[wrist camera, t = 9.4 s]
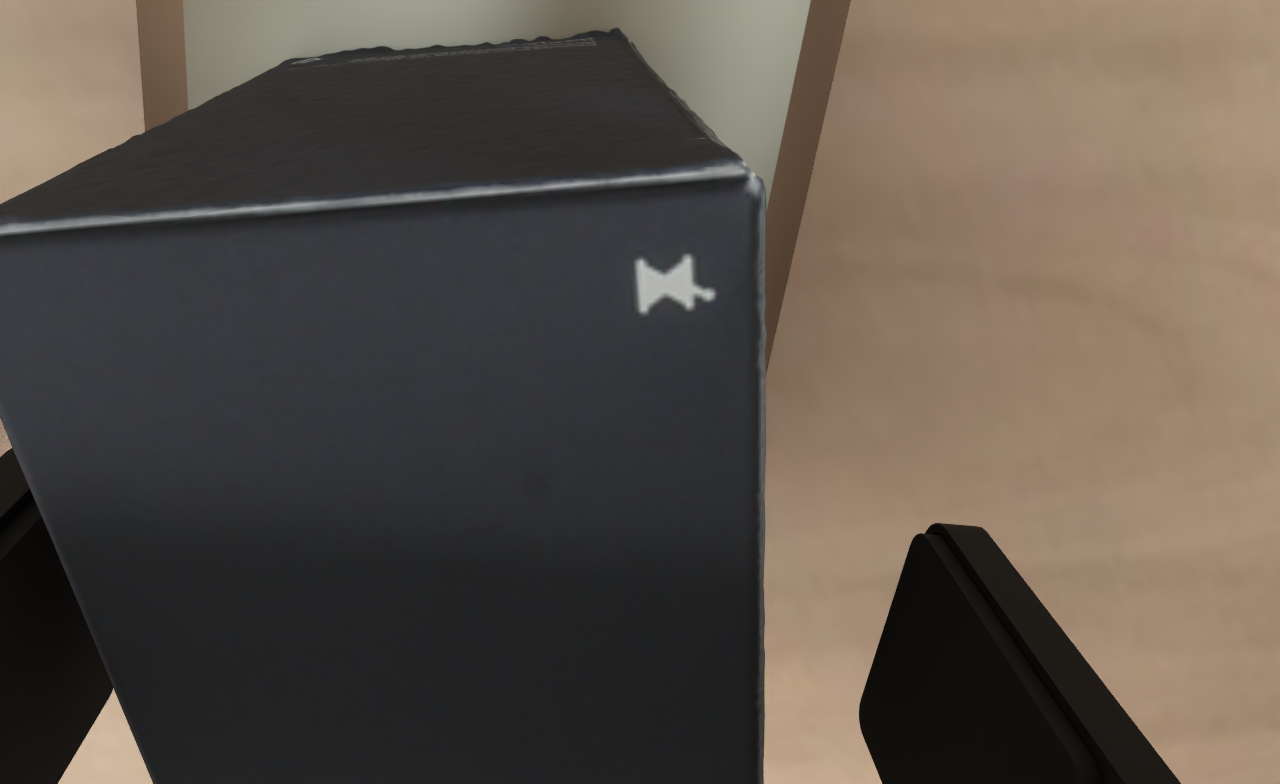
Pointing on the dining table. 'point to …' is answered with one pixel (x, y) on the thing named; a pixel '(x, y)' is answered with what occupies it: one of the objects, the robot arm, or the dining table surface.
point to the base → (557, 8)
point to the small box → (409, 422)
